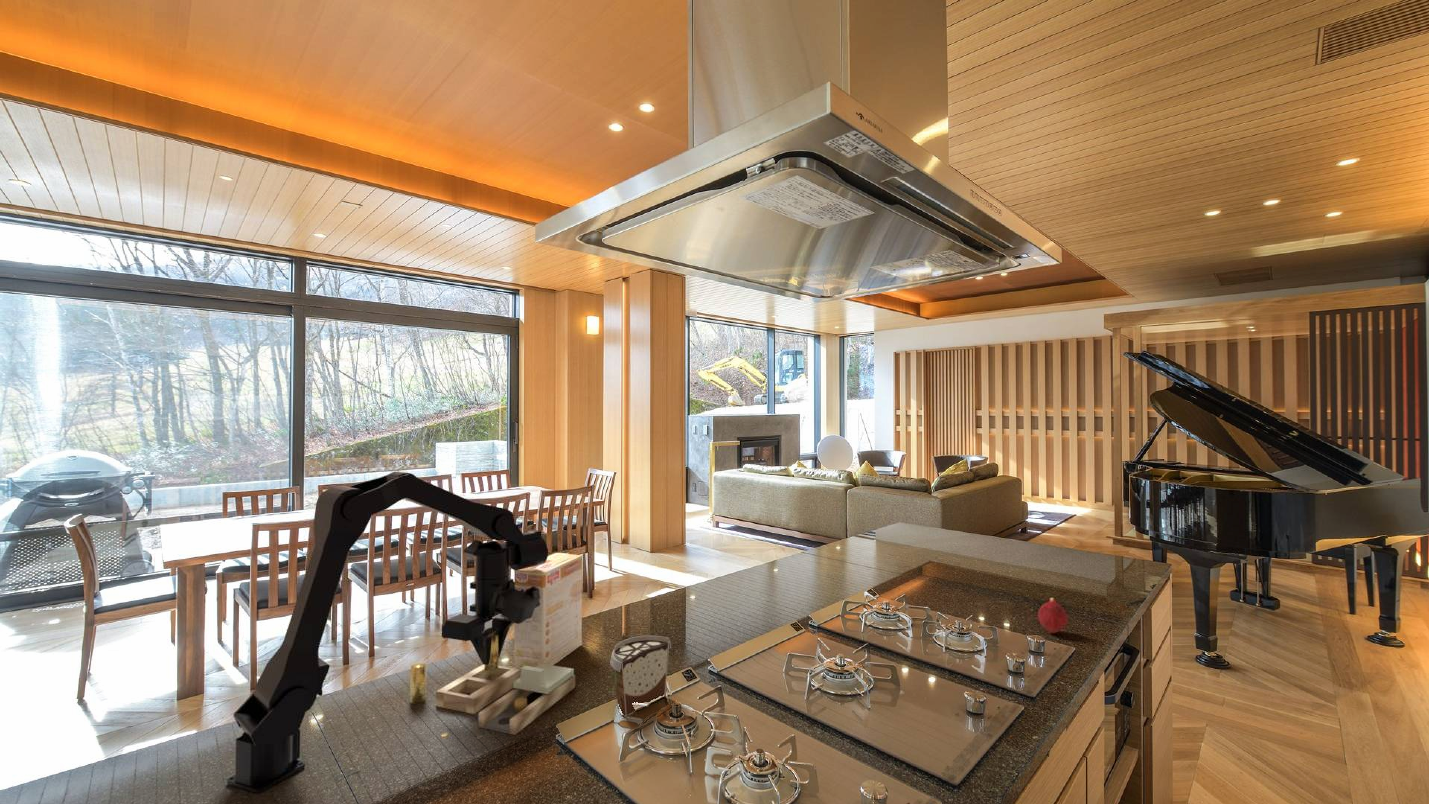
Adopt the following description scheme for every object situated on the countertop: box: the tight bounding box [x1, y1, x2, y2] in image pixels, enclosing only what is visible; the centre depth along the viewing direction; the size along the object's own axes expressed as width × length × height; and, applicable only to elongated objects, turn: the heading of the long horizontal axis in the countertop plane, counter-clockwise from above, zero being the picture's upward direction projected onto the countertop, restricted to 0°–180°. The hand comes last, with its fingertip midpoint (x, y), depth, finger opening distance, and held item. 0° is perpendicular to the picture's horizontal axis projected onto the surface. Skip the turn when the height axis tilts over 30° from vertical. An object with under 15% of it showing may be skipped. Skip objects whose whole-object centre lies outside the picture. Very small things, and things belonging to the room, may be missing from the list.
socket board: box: [435, 663, 521, 715], centre depth 105 cm, size 12×8×2 cm, turn 161°
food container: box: [609, 635, 672, 716], centre depth 103 cm, size 12×6×10 cm, turn 141°
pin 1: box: [409, 662, 427, 705], centre depth 103 cm, size 2×2×6 cm
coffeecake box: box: [513, 552, 583, 671], centre depth 122 cm, size 15×7×20 cm, turn 162°
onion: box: [1037, 597, 1068, 634], centre depth 136 cm, size 6×6×8 cm
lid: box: [512, 663, 575, 694], centre depth 105 cm, size 8×7×4 cm
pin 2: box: [484, 633, 499, 671], centre depth 108 cm, size 2×2×6 cm
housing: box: [477, 674, 576, 736], centre depth 101 cm, size 17×7×2 cm, turn 161°
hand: (491, 661), depth 108 cm, fingers closed on pin 2, 2 cm apart
